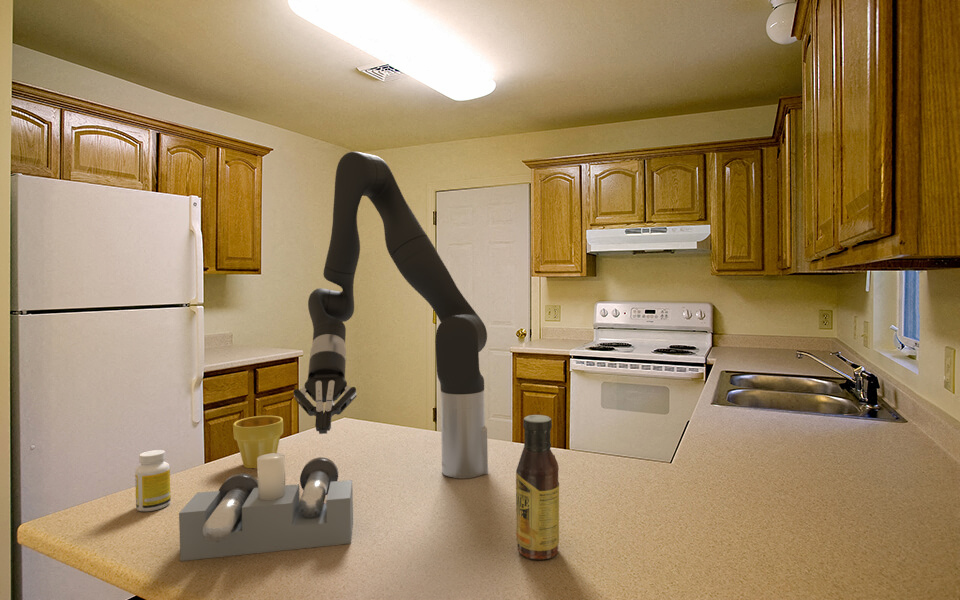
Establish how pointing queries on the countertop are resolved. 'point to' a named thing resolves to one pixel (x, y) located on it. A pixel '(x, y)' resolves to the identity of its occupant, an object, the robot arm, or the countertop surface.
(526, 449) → the sauce bottle
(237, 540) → the slotted grey stand
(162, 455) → the supplement bottle
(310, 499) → the knob
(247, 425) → the plant pot
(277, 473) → the white cylinder
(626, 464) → the countertop surface
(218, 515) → the knob
